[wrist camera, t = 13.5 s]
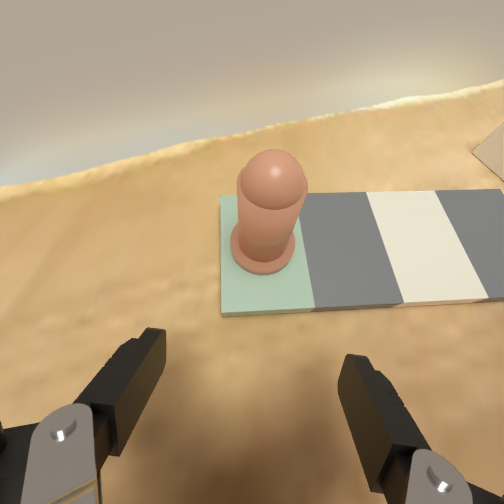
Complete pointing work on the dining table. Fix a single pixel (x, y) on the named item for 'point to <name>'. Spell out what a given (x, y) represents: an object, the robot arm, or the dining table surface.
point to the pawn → (267, 211)
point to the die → (493, 151)
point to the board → (376, 253)
